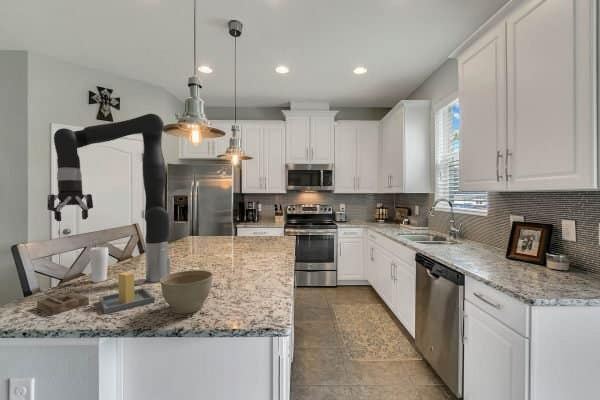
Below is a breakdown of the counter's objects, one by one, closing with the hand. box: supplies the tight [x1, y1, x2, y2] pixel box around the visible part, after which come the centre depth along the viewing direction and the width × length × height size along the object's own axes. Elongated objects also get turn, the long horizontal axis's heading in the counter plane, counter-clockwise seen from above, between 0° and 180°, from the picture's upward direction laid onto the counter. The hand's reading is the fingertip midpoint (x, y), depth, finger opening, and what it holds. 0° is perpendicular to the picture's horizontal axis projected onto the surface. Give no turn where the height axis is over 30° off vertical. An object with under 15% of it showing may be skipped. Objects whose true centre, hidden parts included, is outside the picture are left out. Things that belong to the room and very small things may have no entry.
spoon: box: [114, 278, 146, 294], centre depth 113 cm, size 4×21×2 cm, turn 175°
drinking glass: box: [89, 246, 109, 283], centre depth 125 cm, size 7×7×15 cm
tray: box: [98, 287, 156, 315], centre depth 98 cm, size 15×15×2 cm
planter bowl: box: [159, 269, 213, 315], centre depth 92 cm, size 16×16×11 cm
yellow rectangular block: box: [117, 271, 135, 303], centre depth 98 cm, size 3×4×10 cm, turn 61°
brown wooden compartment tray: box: [36, 291, 90, 316], centre depth 95 cm, size 10×12×3 cm
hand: (72, 220), depth 110 cm, fingers open, 8 cm apart
